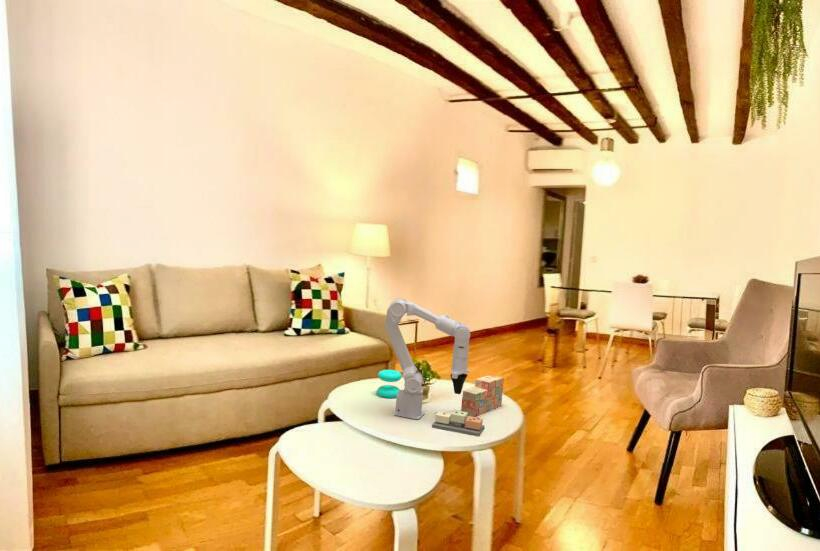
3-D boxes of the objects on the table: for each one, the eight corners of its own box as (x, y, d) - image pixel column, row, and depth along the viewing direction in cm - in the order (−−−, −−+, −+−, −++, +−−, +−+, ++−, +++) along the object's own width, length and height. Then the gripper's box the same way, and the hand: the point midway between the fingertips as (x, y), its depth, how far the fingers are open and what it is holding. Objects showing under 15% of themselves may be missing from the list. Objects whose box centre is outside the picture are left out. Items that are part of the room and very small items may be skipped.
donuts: (385, 367, 221) (406, 371, 217) (383, 390, 222) (404, 394, 218) (374, 372, 212) (395, 376, 208) (372, 395, 213) (393, 400, 209)
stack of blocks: (474, 418, 194) (476, 386, 193) (460, 413, 198) (462, 382, 197) (501, 406, 211) (504, 377, 210) (488, 403, 215) (490, 374, 214)
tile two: (450, 420, 180) (450, 413, 180) (453, 416, 185) (454, 409, 185) (464, 423, 178) (464, 415, 178) (467, 419, 183) (467, 411, 183)
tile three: (465, 427, 178) (465, 419, 178) (468, 422, 183) (468, 415, 183) (479, 429, 177) (479, 422, 176) (482, 425, 181) (482, 418, 181)
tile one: (435, 421, 182) (435, 414, 182) (438, 417, 187) (439, 410, 186) (448, 424, 180) (449, 416, 180) (452, 419, 185) (452, 412, 185)
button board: (431, 427, 180) (432, 419, 180) (438, 419, 189) (439, 411, 189) (479, 436, 175) (479, 427, 175) (484, 428, 183) (484, 420, 183)
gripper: (466, 362, 181) (463, 400, 182) (475, 355, 194) (472, 390, 195) (447, 359, 183) (444, 397, 184) (457, 352, 197) (454, 387, 197)
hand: (457, 393), depth 190 cm, fingers closed
